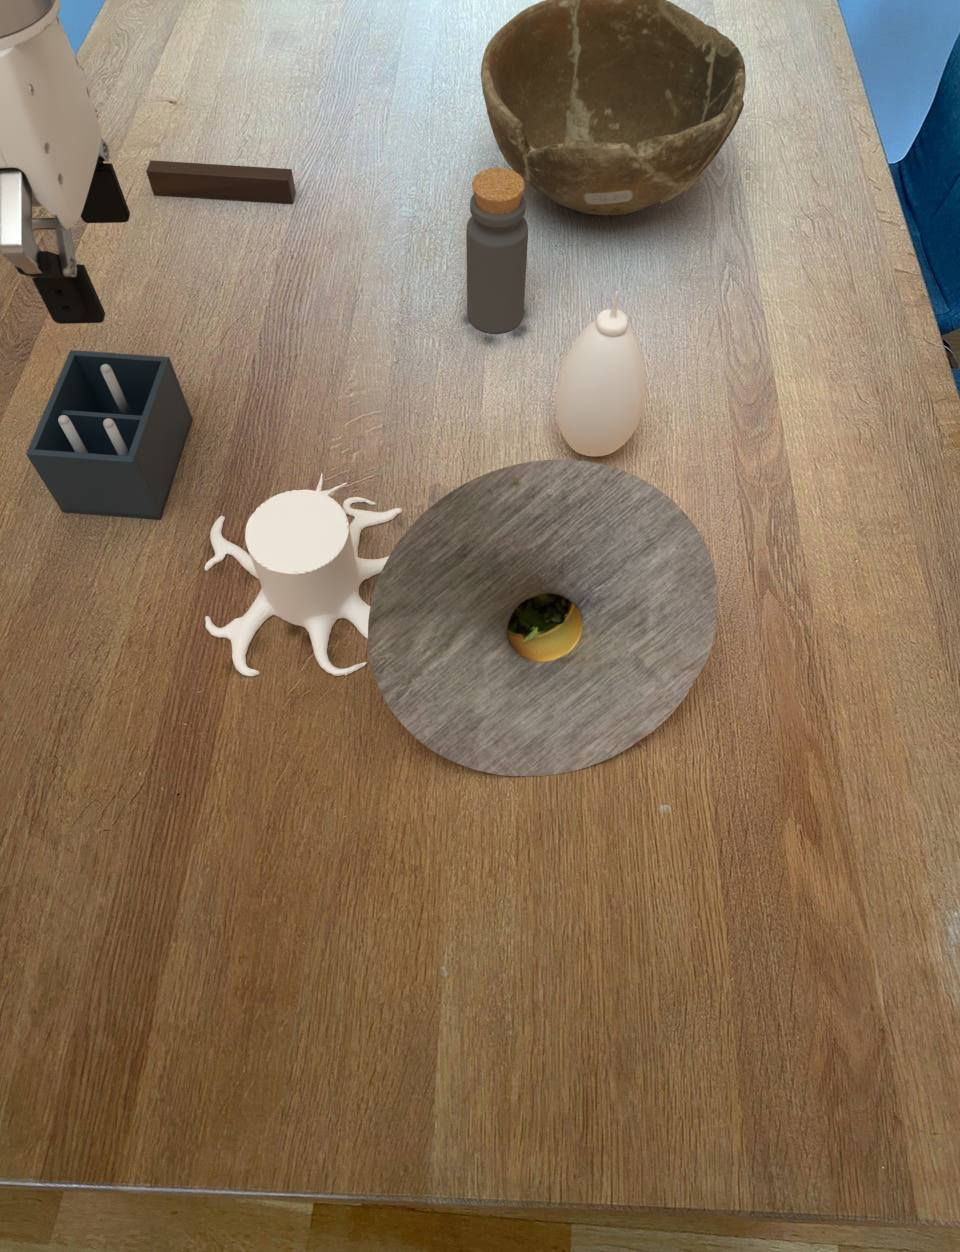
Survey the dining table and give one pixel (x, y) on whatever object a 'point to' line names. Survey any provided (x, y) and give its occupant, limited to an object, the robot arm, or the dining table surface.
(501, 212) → the bottle
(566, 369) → the sauce bottle
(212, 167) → the rail
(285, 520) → the tree stump
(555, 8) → the bowl
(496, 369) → the dining table surface
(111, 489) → the cutlery holder
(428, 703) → the grey flared vase
